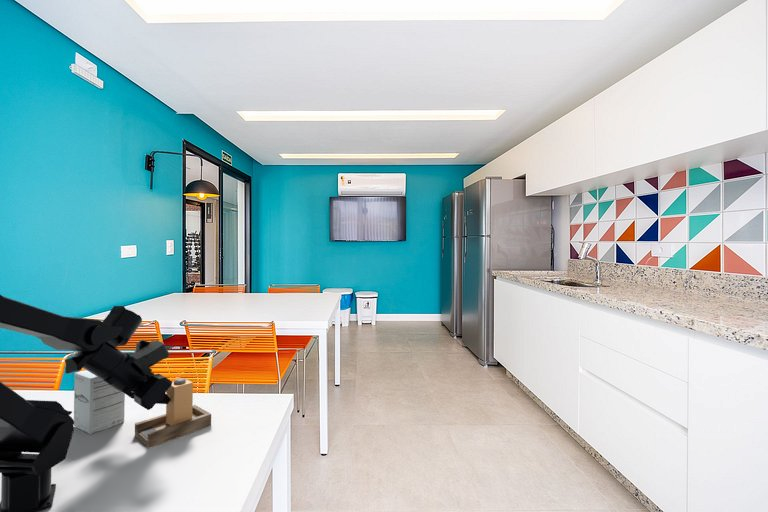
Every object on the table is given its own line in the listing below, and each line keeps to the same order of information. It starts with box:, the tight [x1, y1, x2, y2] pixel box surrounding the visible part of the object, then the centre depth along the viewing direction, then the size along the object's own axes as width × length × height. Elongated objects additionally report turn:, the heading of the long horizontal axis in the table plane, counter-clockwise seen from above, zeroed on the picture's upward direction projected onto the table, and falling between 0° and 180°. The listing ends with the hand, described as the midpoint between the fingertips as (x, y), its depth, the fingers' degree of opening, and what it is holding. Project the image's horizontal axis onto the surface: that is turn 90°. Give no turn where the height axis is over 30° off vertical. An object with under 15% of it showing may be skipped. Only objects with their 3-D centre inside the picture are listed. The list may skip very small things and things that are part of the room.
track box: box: [134, 404, 212, 449], centre depth 83 cm, size 13×8×3 cm, turn 143°
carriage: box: [165, 377, 194, 426], centre depth 84 cm, size 4×4×10 cm
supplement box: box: [73, 369, 126, 435], centre depth 85 cm, size 7×7×13 cm
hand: (168, 401), depth 82 cm, fingers closed, pressing on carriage
